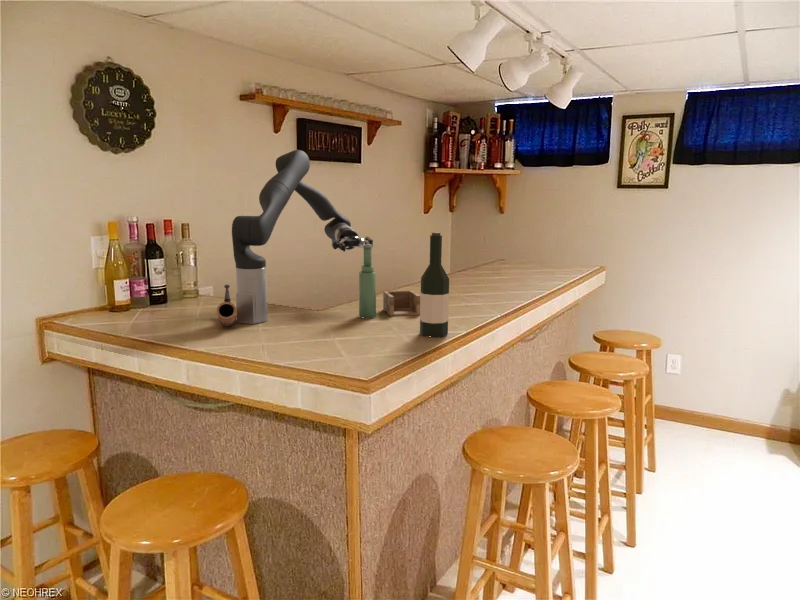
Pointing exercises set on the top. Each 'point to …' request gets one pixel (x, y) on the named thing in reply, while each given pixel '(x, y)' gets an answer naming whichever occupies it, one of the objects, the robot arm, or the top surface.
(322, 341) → the top surface
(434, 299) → the wine bottle
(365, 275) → the slim bottle
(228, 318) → the brown tobacco pipe
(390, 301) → the u rest
